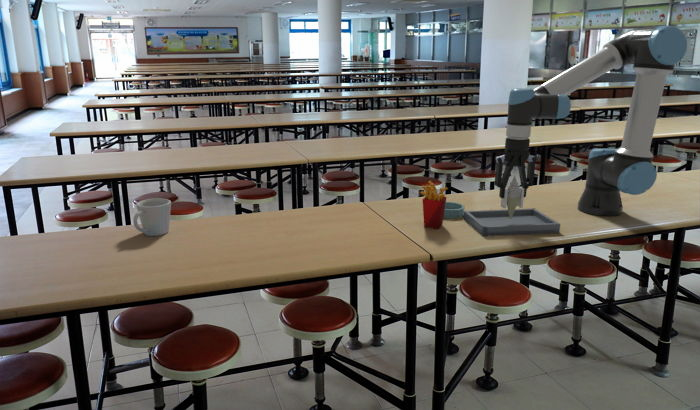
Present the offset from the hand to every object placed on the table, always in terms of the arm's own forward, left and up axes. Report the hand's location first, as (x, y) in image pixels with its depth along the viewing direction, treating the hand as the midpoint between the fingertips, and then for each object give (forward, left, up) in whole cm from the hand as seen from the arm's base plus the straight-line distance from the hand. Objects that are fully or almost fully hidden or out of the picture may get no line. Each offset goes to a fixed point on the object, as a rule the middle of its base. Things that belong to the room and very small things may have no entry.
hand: (511, 206), depth 184 cm
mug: (+117, -7, -7) cm, 117 cm away
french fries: (+27, -3, -7) cm, 28 cm away
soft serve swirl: (0, 0, -4) cm, 4 cm away
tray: (0, 0, -7) cm, 7 cm away
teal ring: (+16, -16, -7) cm, 24 cm away
